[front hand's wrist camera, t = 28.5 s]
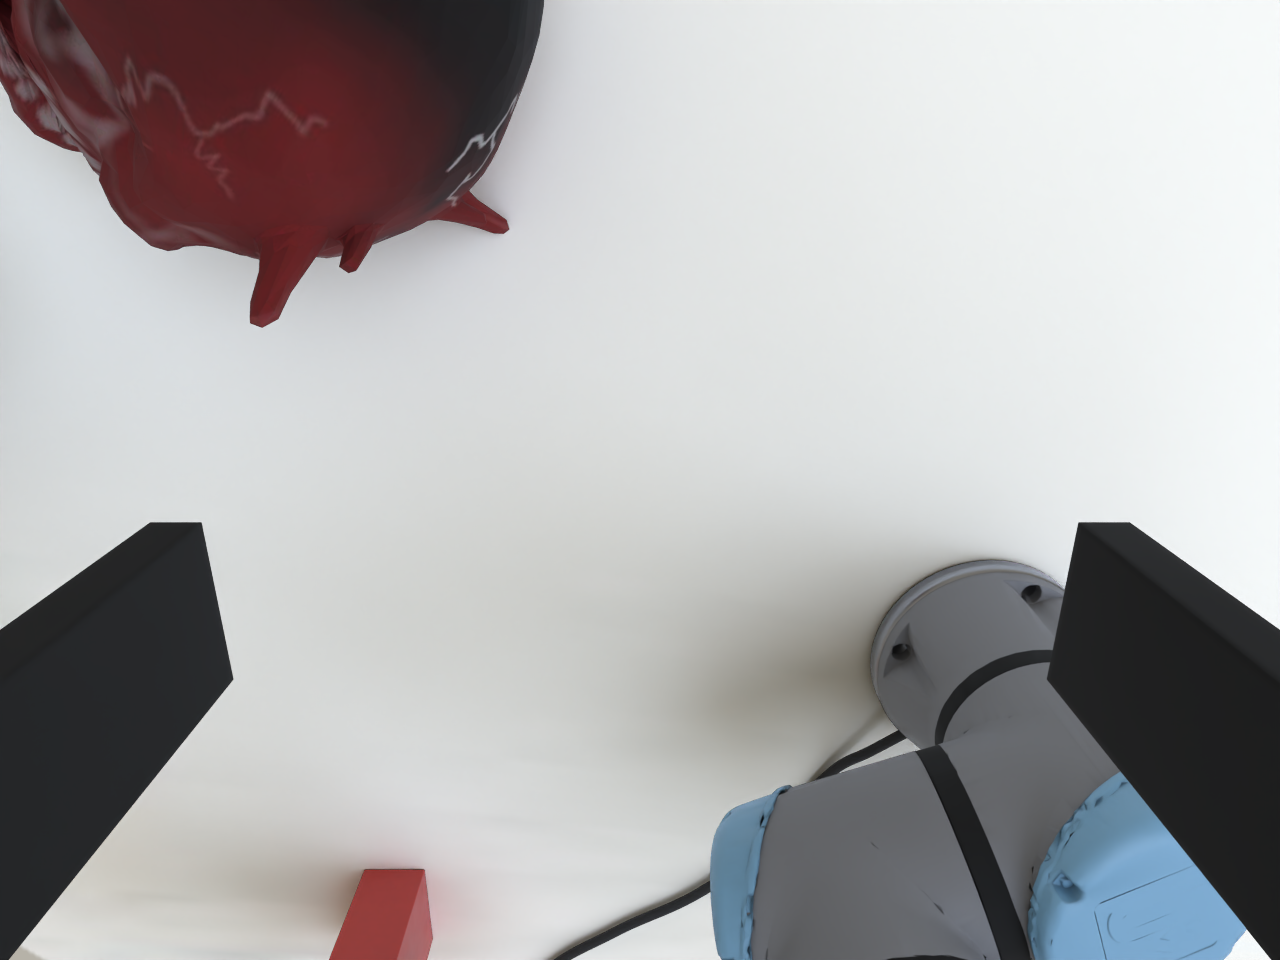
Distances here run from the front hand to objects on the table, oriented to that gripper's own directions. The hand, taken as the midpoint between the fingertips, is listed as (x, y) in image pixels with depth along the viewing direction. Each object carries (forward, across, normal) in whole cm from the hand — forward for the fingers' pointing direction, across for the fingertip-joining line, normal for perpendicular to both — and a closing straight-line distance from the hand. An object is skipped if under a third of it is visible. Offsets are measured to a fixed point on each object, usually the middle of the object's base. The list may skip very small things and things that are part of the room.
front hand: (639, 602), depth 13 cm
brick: (+40, +20, +51) cm, 68 cm away
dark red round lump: (+40, +17, -13) cm, 46 cm away
